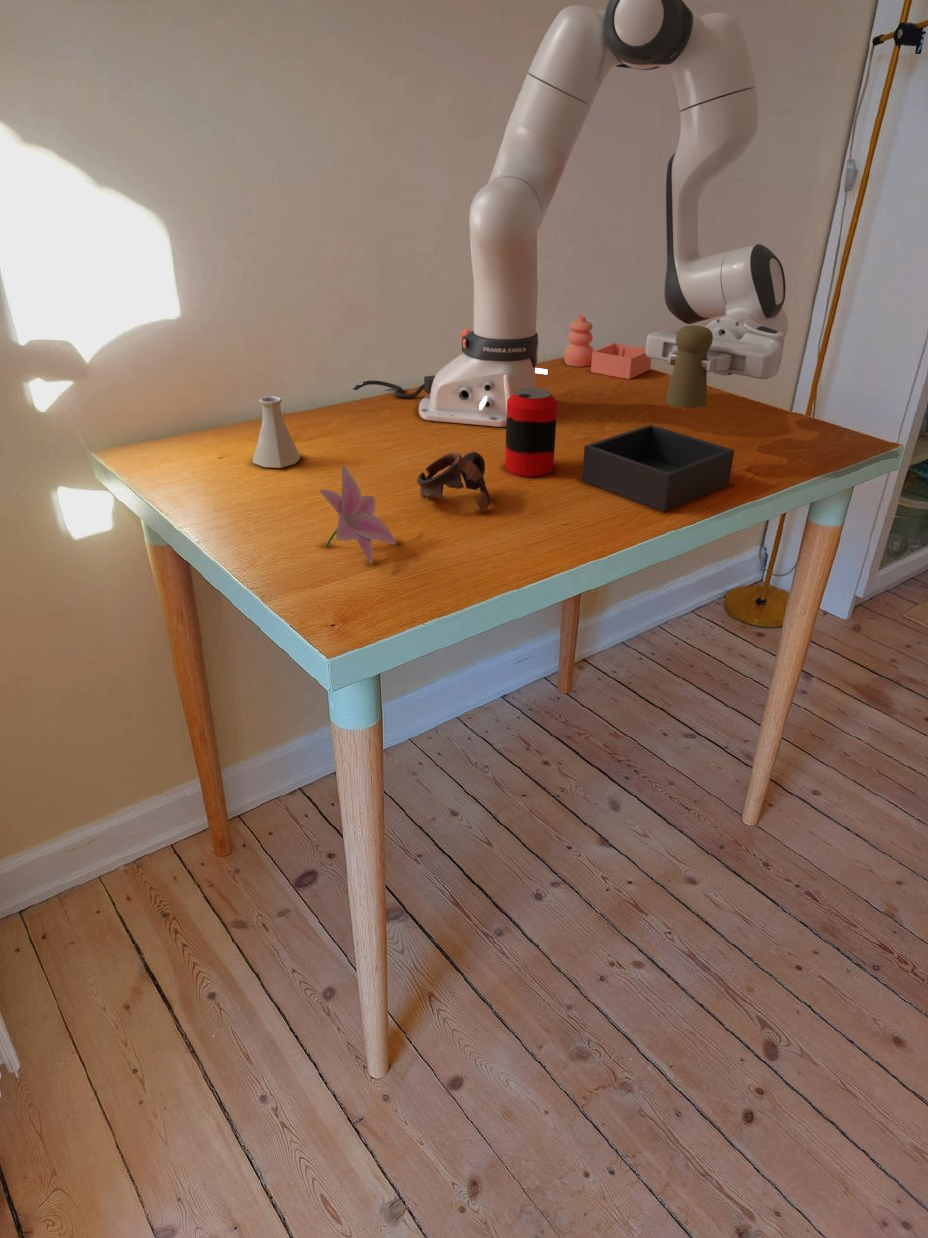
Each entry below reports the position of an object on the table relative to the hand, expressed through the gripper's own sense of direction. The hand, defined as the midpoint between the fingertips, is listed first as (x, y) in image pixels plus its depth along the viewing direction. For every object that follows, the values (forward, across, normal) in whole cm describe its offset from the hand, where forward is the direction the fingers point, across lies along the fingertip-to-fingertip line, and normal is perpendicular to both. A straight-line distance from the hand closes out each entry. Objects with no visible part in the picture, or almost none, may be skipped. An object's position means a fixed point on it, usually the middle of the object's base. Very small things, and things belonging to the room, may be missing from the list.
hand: (688, 362), depth 132 cm
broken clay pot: (+31, -18, +17) cm, 40 cm away
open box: (+6, 0, +17) cm, 18 cm away
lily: (+52, -18, +17) cm, 57 cm away
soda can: (+14, -18, +17) cm, 28 cm away
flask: (+36, -51, +17) cm, 65 cm away
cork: (-1, 0, +6) cm, 6 cm away
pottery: (-46, -41, +17) cm, 64 cm away
